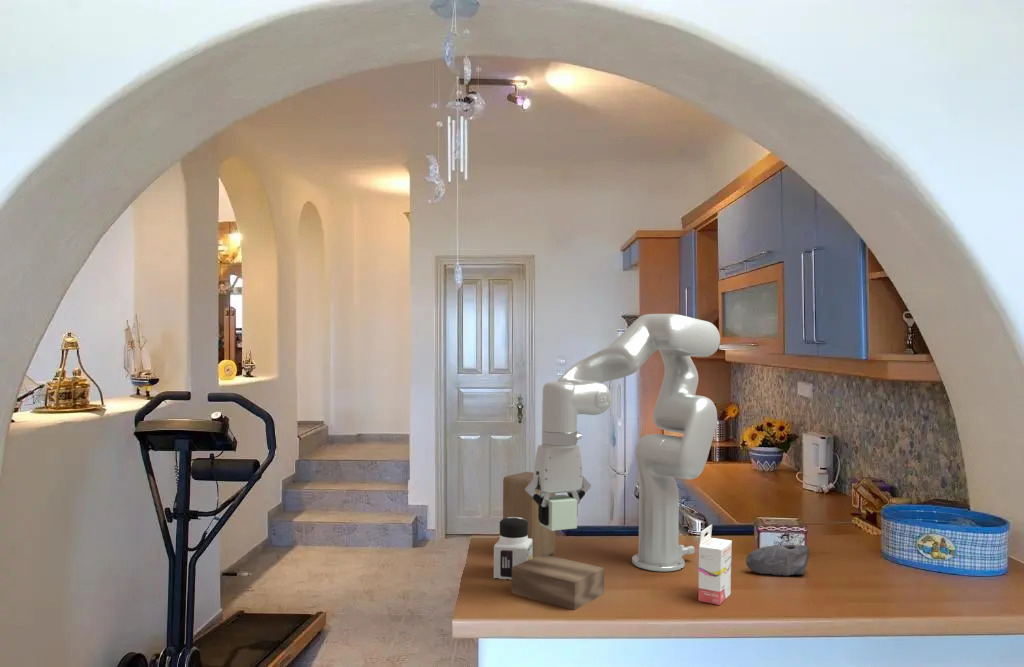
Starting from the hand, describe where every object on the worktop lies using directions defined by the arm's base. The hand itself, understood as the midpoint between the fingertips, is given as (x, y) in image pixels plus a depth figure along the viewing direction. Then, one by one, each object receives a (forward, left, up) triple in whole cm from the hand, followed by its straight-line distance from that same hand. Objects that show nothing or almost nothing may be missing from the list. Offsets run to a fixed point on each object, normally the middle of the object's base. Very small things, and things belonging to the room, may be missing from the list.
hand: (557, 521), depth 164 cm
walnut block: (0, 0, -16) cm, 16 cm away
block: (-6, -28, -16) cm, 33 cm away
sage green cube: (0, 0, -1) cm, 1 cm away
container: (+4, -15, -16) cm, 22 cm away
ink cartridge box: (-30, +15, -16) cm, 37 cm away
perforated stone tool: (-54, +8, -16) cm, 57 cm away
